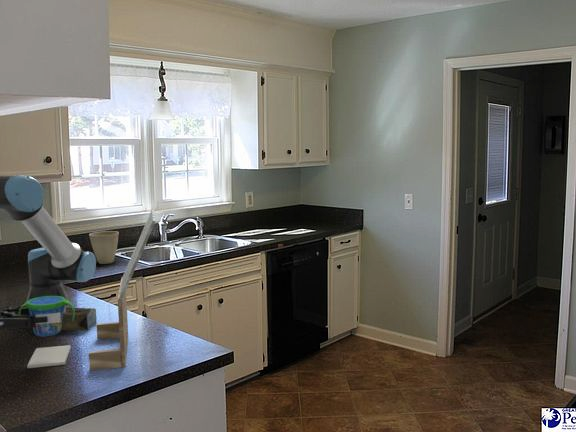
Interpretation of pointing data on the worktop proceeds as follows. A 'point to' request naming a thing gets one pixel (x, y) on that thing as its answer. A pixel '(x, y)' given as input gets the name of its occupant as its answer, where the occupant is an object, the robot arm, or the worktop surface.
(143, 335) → the worktop surface
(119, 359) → the tan tall piece
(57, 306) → the snack cup
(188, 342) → the worktop surface
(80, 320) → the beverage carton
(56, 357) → the paving slab
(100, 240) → the plant pot
